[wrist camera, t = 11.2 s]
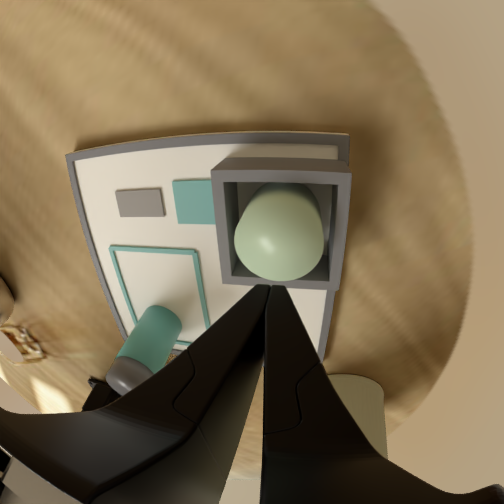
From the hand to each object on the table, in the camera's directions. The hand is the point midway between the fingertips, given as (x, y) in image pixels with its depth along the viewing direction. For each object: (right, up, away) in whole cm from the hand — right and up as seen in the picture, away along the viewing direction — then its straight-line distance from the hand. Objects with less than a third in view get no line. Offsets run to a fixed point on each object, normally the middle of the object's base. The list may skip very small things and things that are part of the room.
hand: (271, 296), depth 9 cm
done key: (+1, +3, +6) cm, 7 cm away
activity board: (-4, 0, +9) cm, 10 cm away
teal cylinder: (-7, -4, +12) cm, 14 cm away
